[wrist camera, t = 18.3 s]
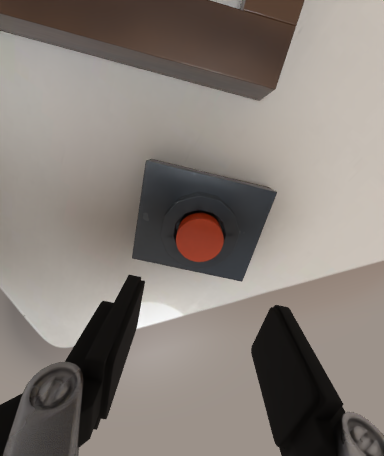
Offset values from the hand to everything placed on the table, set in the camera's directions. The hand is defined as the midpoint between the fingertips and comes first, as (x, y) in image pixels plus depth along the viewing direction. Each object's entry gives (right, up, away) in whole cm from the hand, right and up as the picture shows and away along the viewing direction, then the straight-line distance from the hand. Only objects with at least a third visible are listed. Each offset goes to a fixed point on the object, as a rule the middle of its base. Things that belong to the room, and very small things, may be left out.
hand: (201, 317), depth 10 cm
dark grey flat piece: (0, +5, +13) cm, 14 cm away
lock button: (0, +4, +9) cm, 10 cm away
